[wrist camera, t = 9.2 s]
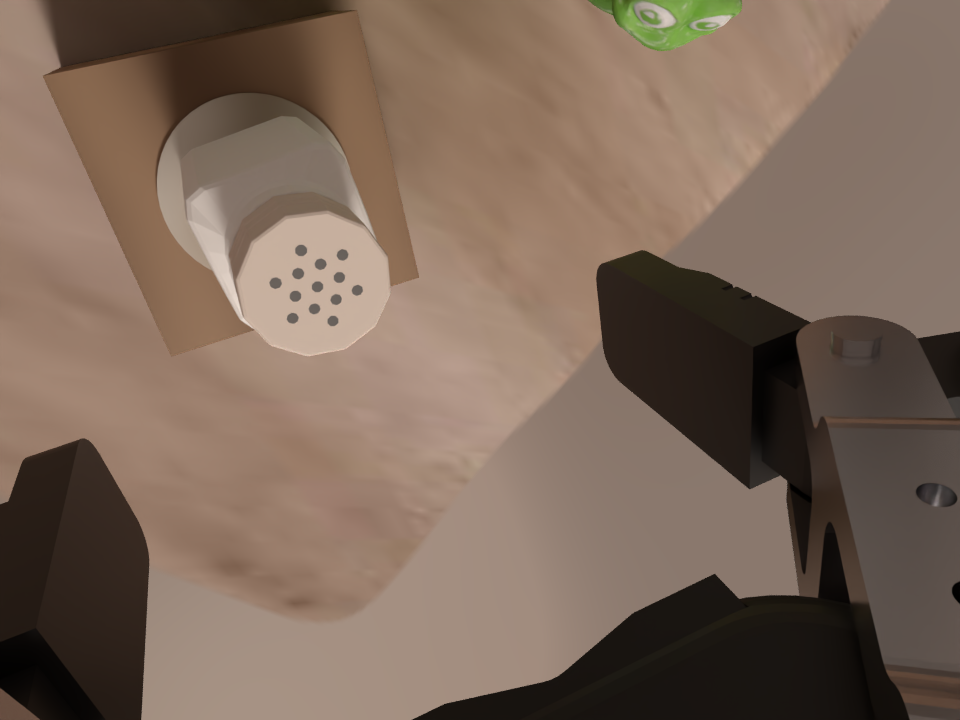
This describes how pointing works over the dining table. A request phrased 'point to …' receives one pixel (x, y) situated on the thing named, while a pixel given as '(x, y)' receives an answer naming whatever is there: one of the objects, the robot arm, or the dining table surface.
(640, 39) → the turtle holder
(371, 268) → the salt shaker
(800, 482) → the robot arm
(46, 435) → the dining table surface
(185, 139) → the base
